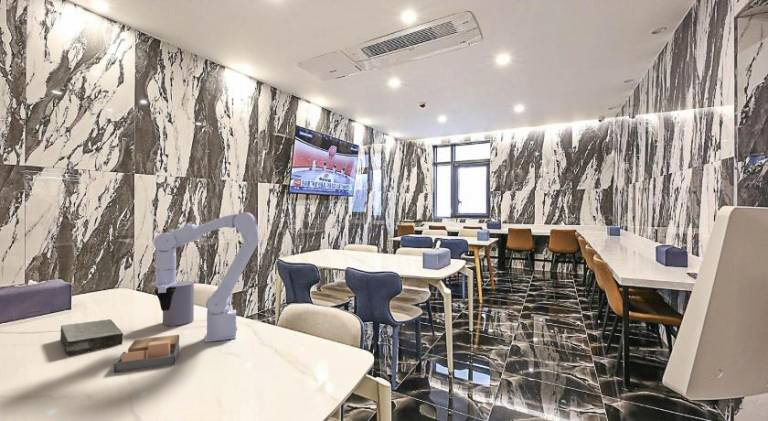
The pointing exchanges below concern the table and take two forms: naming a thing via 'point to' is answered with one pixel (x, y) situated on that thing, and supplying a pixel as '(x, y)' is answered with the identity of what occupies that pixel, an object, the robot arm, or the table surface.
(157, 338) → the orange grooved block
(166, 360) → the tray
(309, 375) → the table surface
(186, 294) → the container
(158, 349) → the tile
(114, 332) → the stone block
